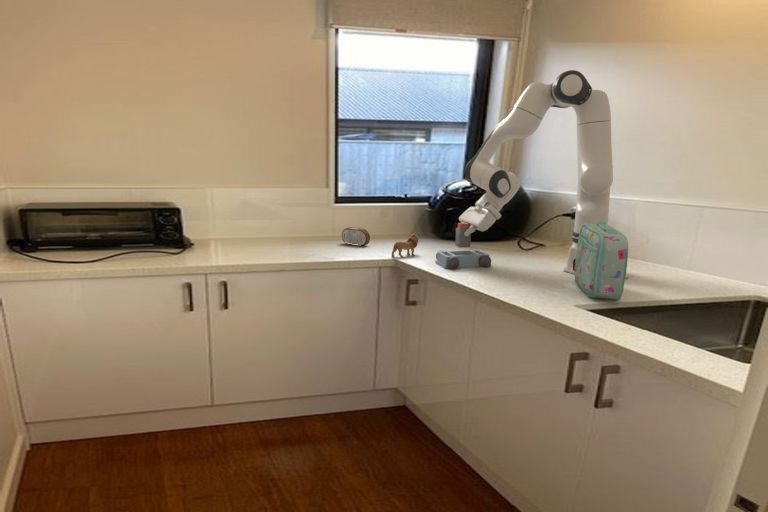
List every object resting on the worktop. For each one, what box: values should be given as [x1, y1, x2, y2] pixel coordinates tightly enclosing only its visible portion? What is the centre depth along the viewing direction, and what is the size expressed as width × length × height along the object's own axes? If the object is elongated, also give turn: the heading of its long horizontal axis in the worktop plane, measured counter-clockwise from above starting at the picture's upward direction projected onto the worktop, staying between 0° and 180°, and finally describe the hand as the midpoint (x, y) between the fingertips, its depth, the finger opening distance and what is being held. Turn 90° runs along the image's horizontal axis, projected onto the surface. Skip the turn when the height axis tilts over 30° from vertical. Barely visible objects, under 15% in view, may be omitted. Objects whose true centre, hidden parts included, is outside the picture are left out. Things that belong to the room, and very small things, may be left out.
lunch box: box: [573, 221, 629, 301], centre depth 147 cm, size 27×10×21 cm, turn 171°
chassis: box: [435, 248, 492, 270], centre depth 186 cm, size 14×19×4 cm
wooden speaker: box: [341, 226, 371, 246], centre depth 226 cm, size 15×3×8 cm, turn 58°
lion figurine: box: [391, 233, 419, 258], centre depth 201 cm, size 15×5×9 cm, turn 131°
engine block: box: [454, 222, 472, 248], centre depth 184 cm, size 4×4×9 cm
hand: (461, 233), depth 184 cm, fingers closed on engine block, 4 cm apart
